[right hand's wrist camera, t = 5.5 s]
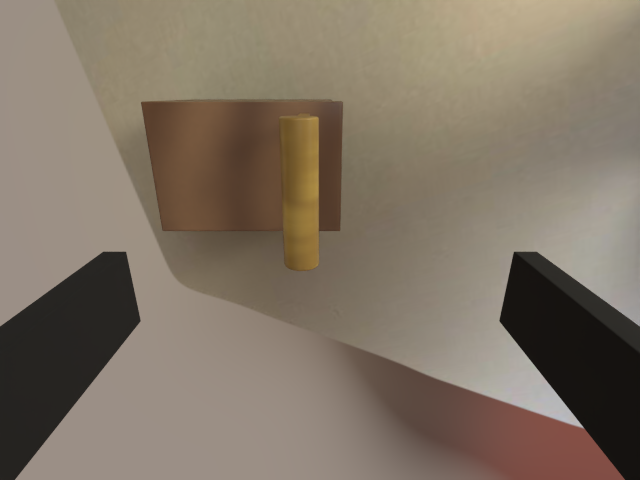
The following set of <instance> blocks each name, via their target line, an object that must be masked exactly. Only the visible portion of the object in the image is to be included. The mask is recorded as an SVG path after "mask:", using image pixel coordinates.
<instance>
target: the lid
mask: <svg viewBox="0 0 640 480" xmlns="http://www.w3.org/2000/svg"><path fill="white" fill-rule="evenodd" d="M141 104H142V110H143V116H144V122H145V128H146V134H147V140H148V146H149V152H150V158H151V164H152V170H153V176H154V182H155V188H156V194H157V200H158V206H159V212H160V217H161V223H162V229H163V231H283V238H284V263H285V266H286V267H287V268H289V269H291V270H296V271H306V270H311V269H314V268H316V267H317V266H318V264H319V231H340V212H341V163H342V115H343V102H341V101H153V102H141Z"/></svg>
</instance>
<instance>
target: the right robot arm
mask: <svg viewBox="0 0 640 480" xmlns="http://www.w3.org/2000/svg"><path fill="white" fill-rule="evenodd" d="M139 322H140V316H139V311H138V306H137V302H136V297H135V292H134V288H133V283H132V278H131V273H130V269H129V264H128V259H127V255H126V252H102V253H101V254H100V255H98V256H97V257H96V258H94V259H93V260H91V261H90V262H89V263H87V264H86V265H85V266H83V267H82V268H80V269H79V270H78V271H76V272H75V273H73V274H72V275H71V276H69V277H68V278H67V279H65V280H64V281H62V282H61V283H60V284H58V285H57V286H56V287H54V288H53V289H51V290H50V291H49V292H47V293H46V294H44V295H43V296H42V297H40V298H39V299H38V300H36V301H35V302H33V303H32V304H31V305H29V306H28V307H27V308H25V309H24V310H22V311H21V312H20V313H18V314H17V315H16V316H14V317H13V318H11V319H10V320H9V321H7V322H6V323H5V324H3V325H2V326H0V480H15V479H16V478H17V476H18V475H19V474H20V472H21V471H22V470H23V469H24V467H25V466H26V465H27V464H28V462H29V461H30V460H31V459H32V457H33V456H34V455H35V454H36V452H37V451H38V450H39V448H40V447H41V446H42V445H43V443H44V442H45V441H46V440H47V438H48V437H49V436H50V435H51V433H52V432H53V431H54V430H55V428H56V427H57V426H58V425H59V423H60V422H61V421H62V420H63V418H64V417H65V416H66V414H67V413H68V412H69V411H70V409H71V408H72V407H73V406H74V404H75V403H76V402H77V401H78V399H79V398H80V397H81V396H82V394H83V393H84V392H85V390H86V389H87V388H88V387H89V385H90V384H91V383H92V382H93V380H94V379H95V378H96V377H97V375H98V374H99V373H100V372H101V370H102V369H103V368H104V367H105V365H106V364H107V363H108V362H109V360H110V359H111V358H112V356H113V355H114V354H115V353H116V351H117V350H118V349H119V348H120V346H121V345H122V344H123V343H124V341H125V340H126V339H127V338H128V336H129V335H130V334H131V332H132V331H133V330H134V329H135V327H136V326H137V325H138V324H139ZM500 322H501V324H502V325H503V326H504V327H505V329H506V330H507V331H508V332H509V334H510V335H511V336H512V338H513V339H514V340H515V341H516V343H517V344H518V345H519V346H520V348H521V349H522V350H523V351H524V353H525V354H526V355H527V356H528V358H529V359H530V360H531V362H532V363H533V364H534V365H535V367H536V368H537V369H538V370H539V372H540V373H541V374H542V375H543V377H544V378H545V379H546V380H547V382H548V383H549V384H550V385H551V387H552V388H553V389H554V391H555V392H556V393H557V394H558V396H559V397H560V398H561V399H562V401H563V402H564V403H565V404H566V406H567V407H568V408H569V409H570V411H571V412H572V413H573V414H574V416H575V417H576V418H577V420H578V421H579V422H580V423H581V425H582V426H583V427H584V428H585V430H586V431H587V432H588V433H589V435H590V436H591V437H592V438H593V440H594V441H595V442H596V444H597V445H598V446H599V447H600V449H601V450H602V451H603V452H604V454H605V455H606V456H607V457H608V459H609V460H610V461H611V462H612V464H613V465H614V466H615V467H616V469H617V470H618V471H619V473H620V474H621V475H622V476H623V478H624V479H625V480H640V326H638V325H637V324H636V323H634V322H633V321H631V320H630V319H629V318H627V317H626V316H624V315H623V314H622V313H620V312H619V311H618V310H616V309H615V308H613V307H612V306H611V305H609V304H608V303H607V302H605V301H604V300H602V299H601V298H600V297H598V296H597V295H596V294H594V293H593V292H591V291H590V290H589V289H587V288H586V287H584V286H583V285H582V284H580V283H579V282H578V281H576V280H575V279H573V278H572V277H571V276H569V275H568V274H567V273H565V272H564V271H562V270H561V269H560V268H558V267H557V266H556V265H554V264H553V263H551V262H550V261H549V260H547V259H546V258H544V257H543V256H542V255H540V254H539V253H538V252H514V254H513V259H512V264H511V269H510V273H509V278H508V283H507V287H506V292H505V297H504V302H503V306H502V311H501V316H500Z"/></svg>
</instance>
